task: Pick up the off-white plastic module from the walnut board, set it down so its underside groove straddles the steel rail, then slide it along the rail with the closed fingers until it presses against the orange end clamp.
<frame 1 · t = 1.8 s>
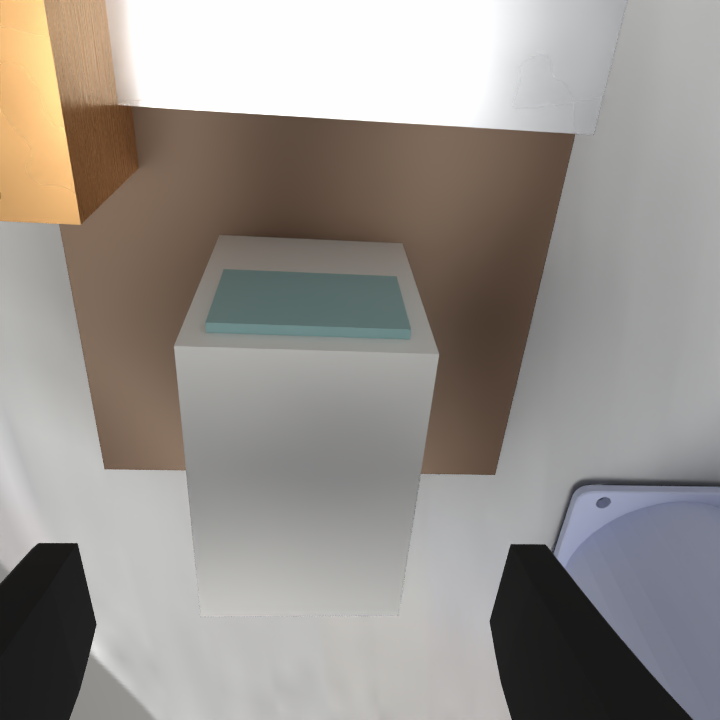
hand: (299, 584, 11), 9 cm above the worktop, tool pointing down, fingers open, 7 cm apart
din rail: (318, 29, 14), resting on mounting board
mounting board: (313, 201, 16), on the worktop
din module: (308, 360, 17), point 1 cm above the worktop, touching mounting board
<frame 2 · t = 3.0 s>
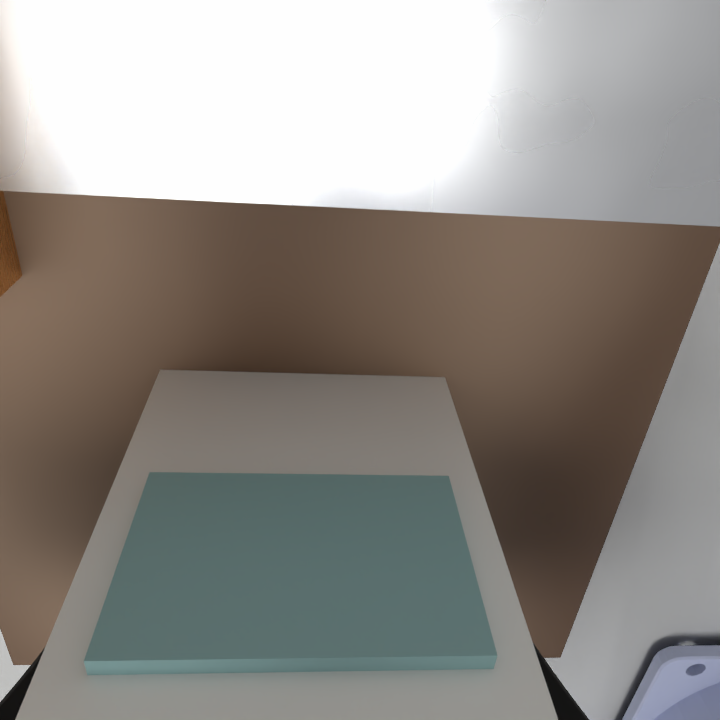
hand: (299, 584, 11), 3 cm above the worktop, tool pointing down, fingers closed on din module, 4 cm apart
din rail: (314, 49, 9), resting on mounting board
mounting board: (307, 303, 11), on the worktop
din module: (300, 531, 12), point 1 cm above the worktop, touching gripper, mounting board
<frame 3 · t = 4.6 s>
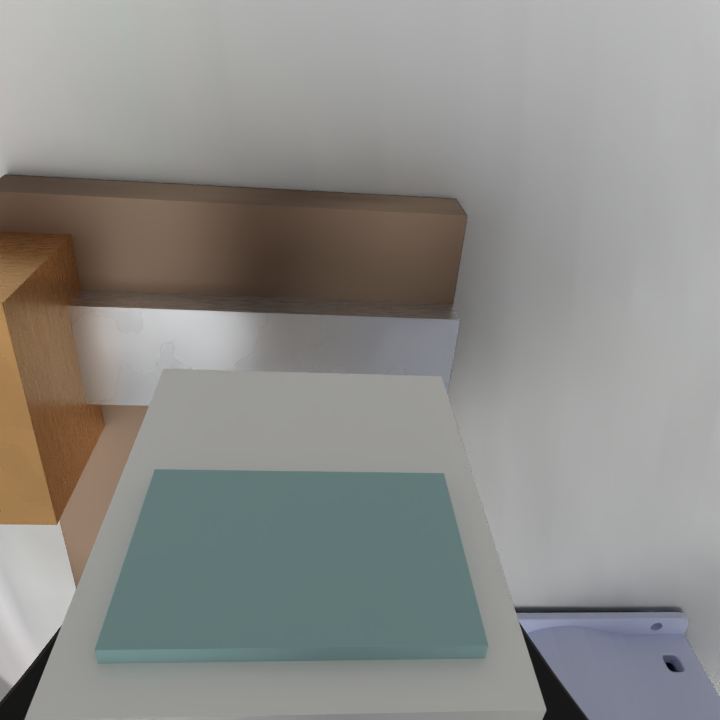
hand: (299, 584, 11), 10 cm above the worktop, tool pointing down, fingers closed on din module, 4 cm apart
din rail: (241, 319, 19), resting on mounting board
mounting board: (245, 425, 21), on the worktop
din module: (300, 525, 12), point 8 cm above the worktop, touching gripper
when the fingers open (4 cm above the worktop, at t = 6.2 s): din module stays where it is, resting on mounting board.
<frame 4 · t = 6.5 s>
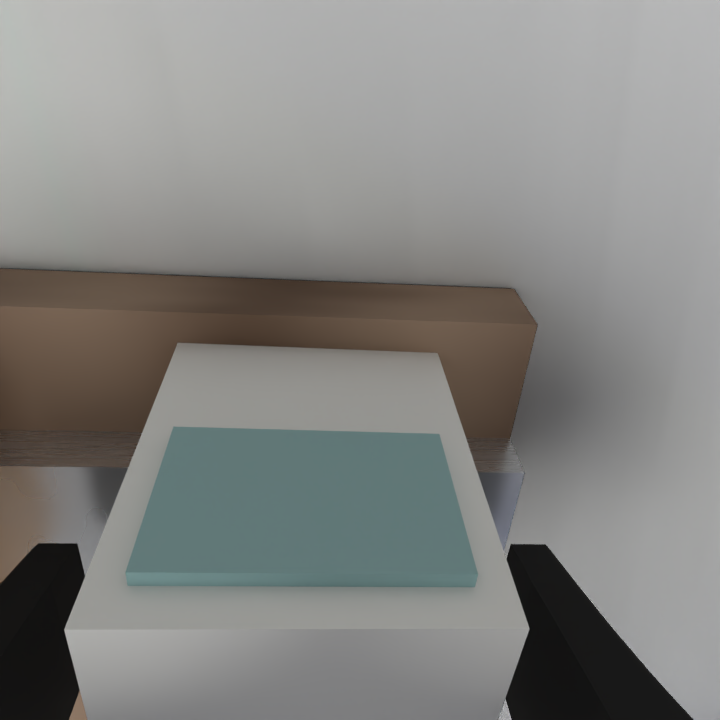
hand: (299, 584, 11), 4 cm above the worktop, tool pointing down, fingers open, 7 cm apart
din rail: (212, 445, 14), resting on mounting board
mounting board: (220, 569, 16), on the worktop
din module: (303, 497, 12), point 1 cm above the worktop, touching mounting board
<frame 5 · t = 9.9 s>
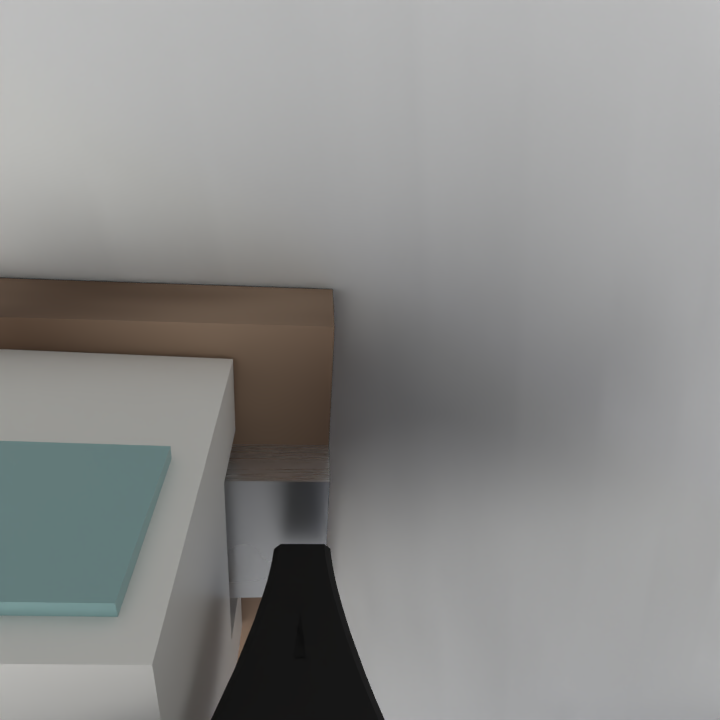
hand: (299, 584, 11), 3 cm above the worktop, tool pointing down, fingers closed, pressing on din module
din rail: (41, 452, 13), resting on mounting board
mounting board: (74, 580, 15), on the worktop
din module: (121, 509, 12), point 2 cm above the worktop, touching gripper, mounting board
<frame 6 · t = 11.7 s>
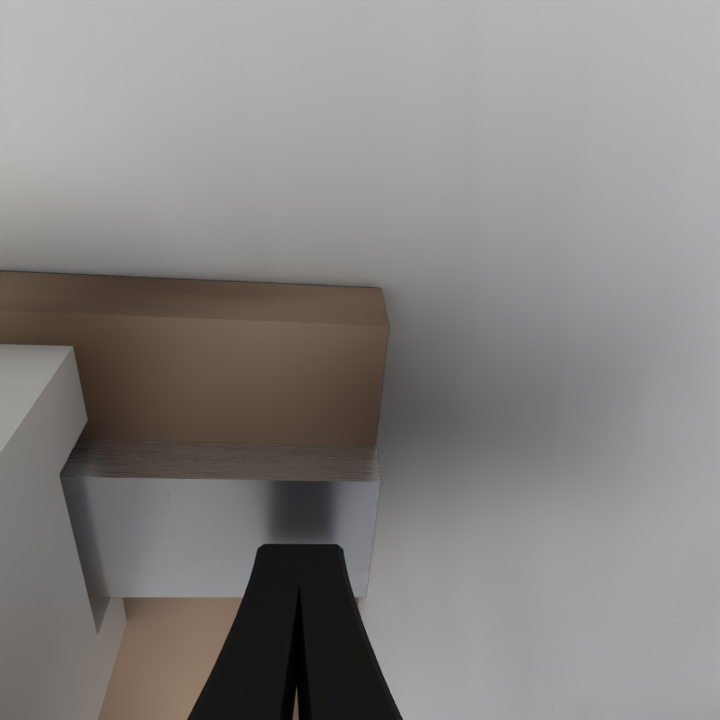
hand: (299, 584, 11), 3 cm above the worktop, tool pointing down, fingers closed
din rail: (79, 449, 13), resting on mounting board
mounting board: (105, 578, 15), on the worktop
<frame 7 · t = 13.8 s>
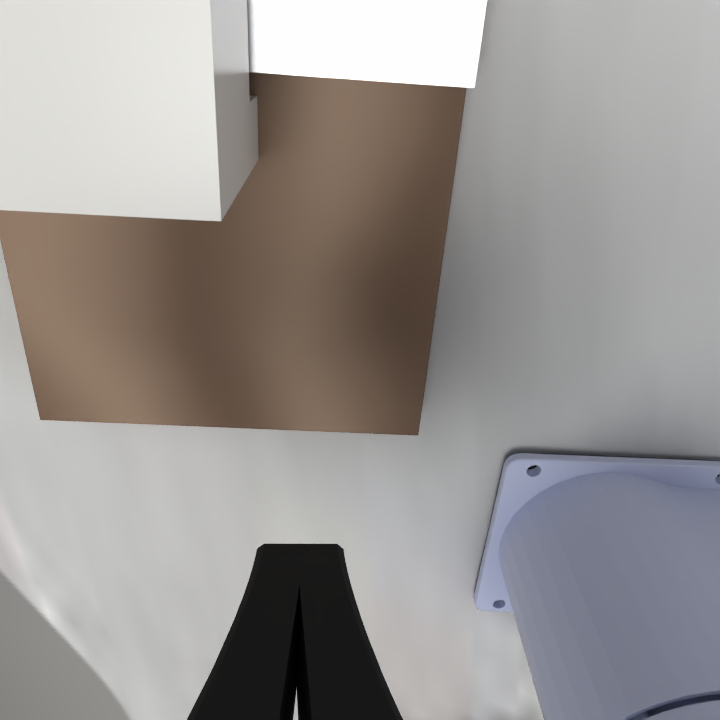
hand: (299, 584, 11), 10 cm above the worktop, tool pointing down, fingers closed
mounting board: (231, 161, 17), on the worktop
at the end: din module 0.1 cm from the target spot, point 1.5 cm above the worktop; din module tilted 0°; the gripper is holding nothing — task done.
